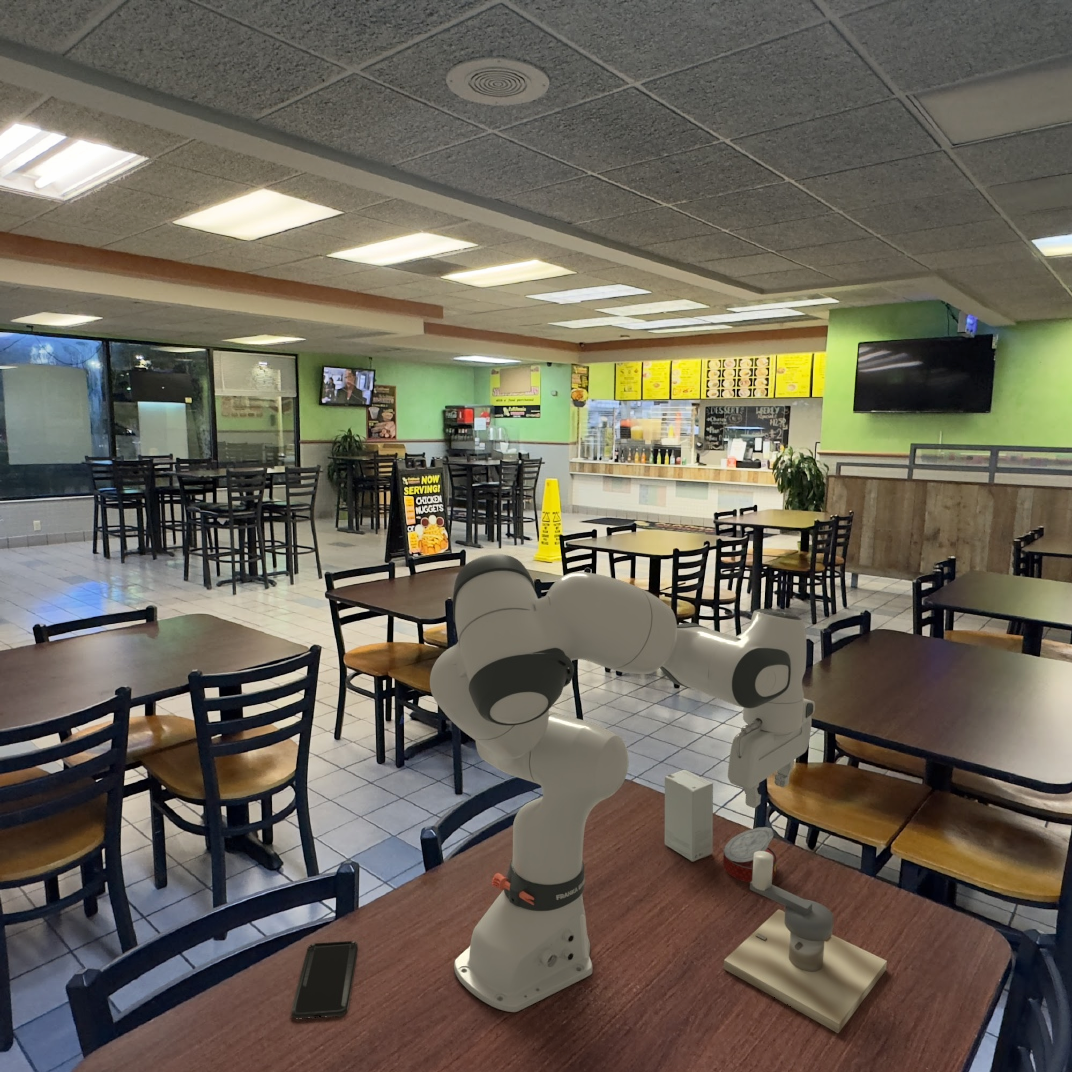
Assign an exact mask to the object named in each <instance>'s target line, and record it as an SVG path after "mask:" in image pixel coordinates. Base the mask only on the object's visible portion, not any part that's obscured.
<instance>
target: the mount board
mask: <svg viewBox="0 0 1072 1072" xmlns="http://www.w3.org/2000/svg"><path fill="white" fill-rule="evenodd" d="M784 920H785V910H784V911H783V910H782V909H777V910H776V911H775V912H774V913H773V914H772V915H771V916H770V917H769V918H768V919H766V921H764V922H763V923H762V924H761V925H760V926H759V927H758V928H757V929H756V930H755V931H754V932H752V933H751V934H750V935H749V936H748V937H747V938H745V940H744V941H743V942H742V943H741V944H739V945H738V946H737V947H736V948H735V949H734V950H733V951H732V952H731V953H729V955H727V956H726V958H725V959H724V960H723V969H724V970H725V971H726V972H728V973H730V974H732V975H734V976H736V977H737V978H739V979H741V980H743V981H744V982H746V983H748V984H750V985H752V986H754V987H755V988H757V989H759V990H760V991H762V992H763V993H766V994H767V995H770V996H771V997H773V998H774V997H775V998H774V999H777V1000H778V1001H780V1002H781V1003H783V1004H785V1005H787V1004H788V1005H787V1006H789V1007H790V1006H791V1007H790V1008H792V1009H794V1010H796V1011H798V1012H799V1013H801V1014H803V1015H804V1016H807V1017H809V1018H810V1019H812V1020H813V1021H815V1022H817V1023H819V1024H821V1025H823V1026H824V1027H825V1028H826V1029H827V1028H828V1029H829V1030H831V1031H833V1032H835V1033H836V1034H839V1033H840V1032H841V1031H842V1029H844V1027H845V1026H846V1024H847V1023H848V1021H849V1020H851V1017H852V1016H853V1014H854V1013H855V1012H856V1011H857V1010H858V1008H859V1007H860V1005H861V1004H862V1002H863V1001H864V1000H865V998H866V997H867V996H868V994H869V993H870V992H871V990H872V989H873V988H874V987H875V985H876V984H877V982H879V979H880V978H881V977H882V976H883V974H885V972H886V970H887V962H888V960H886V959H884V958H882V957H880V956H877V955H875V954H873V953H872V952H870V951H867V950H865V949H864V948H860V947H859V946H857V945H855V944H852V943H850V942H848V941H846V940H844V939H842V938H840V937H838V936H836V935H834V934H832V935H831V937H830V938H829V939H827V940H824V941H809V940H805V939H802V938H800V937H797V936H796V935H794V934H793V933H791V932H790V931H789V930H788V929H787V927H786V926H785V923H784Z"/></svg>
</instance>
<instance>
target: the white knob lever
mask: <svg viewBox="0 0 1072 1072" xmlns="http://www.w3.org/2000/svg"><path fill="white" fill-rule="evenodd" d="M772 870H773V856H772V855H771V854H770V853H768V852H765V851H757V852H755V853H754V860H753V876H752V881H751V882H749V890H750V891H753V892H754V893H757V894H759V895H761V896H764V897H766V898H768V899H770V900H771V901H773V902H776V903H778V904H780V905H782V906H784V907H785V908H784V912H785V920H784V923H785V926H786V927H787V929H788V930H789V931H790V932H791V933H793V934H794V935H796V936H797V937H800V938H802V939H805V940H809V941H824V940H827V939H829V938H830V937H831V935H833V929H834V928H833V927H834V915H833V913H832V912H831V910H830V909H829V908H828V907H827V906H825V905H823V904H821V903H820V902H817V901H814V900H809V899H805V898H802V897H801V896H798V895H796V894H794V893H791V892H789V891H787V890H785V889H783V888H780V887H779V886H776V885H774V884H772V882H773V879H772Z"/></svg>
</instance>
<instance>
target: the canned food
mask: <svg viewBox="0 0 1072 1072" xmlns="http://www.w3.org/2000/svg"><path fill="white" fill-rule="evenodd" d="M774 835H775V833H774V831H773V829H772V828H770V827H767V826H763V827H756V828H751V829H748V830H745V831H743V832H740V833H738V834H736V835H735V836H734V837H732V838H730V840H729V841H728V842H727V843H726V844H725V846H724V847H723V858H722V860H723V861H722V866H723V869H724V870H725V872H726V873H727V874H728V875H730V876H731V877H733V878H735V879H736V880H740V881H743V882H745V883H750V882H751V881H752V876H753V860H754V853H755V852H757V851H765V852H768V853H770V854H771V855H772V856H773V870H772V880H773V879H774V878H775V877H776V875H777V863H778V862H777V861H778V858H777V857H778V856H777V855H776V853H775V852H774V851H773V849H771V848H770V847H769V845H770V843H771V841H772V840H773V839H774Z"/></svg>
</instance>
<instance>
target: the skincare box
mask: <svg viewBox="0 0 1072 1072" xmlns="http://www.w3.org/2000/svg"><path fill="white" fill-rule="evenodd" d="M713 815H714V783H713V782H712V781H709V780H707V779H705V778H703V777H701V776H698V775H696V774H694V773H692V772H691V771H689V770H686V769H683V770H680V771H677V772H673V773H671V774H668V775H666V776H664V845H665V846H666V847H668V848H670V849H672V850H673V851H675V852H676V853H678V854H679V855H681V856H682V857H684V858H686V859H687V860H689V861H690V862H696V861H698V860H700V859H703V858H706V857H708V856H711V855H713V852H714V850H713V847H714V846H713V843H714V833H713V831H714V828H713V827H714V816H713Z"/></svg>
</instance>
